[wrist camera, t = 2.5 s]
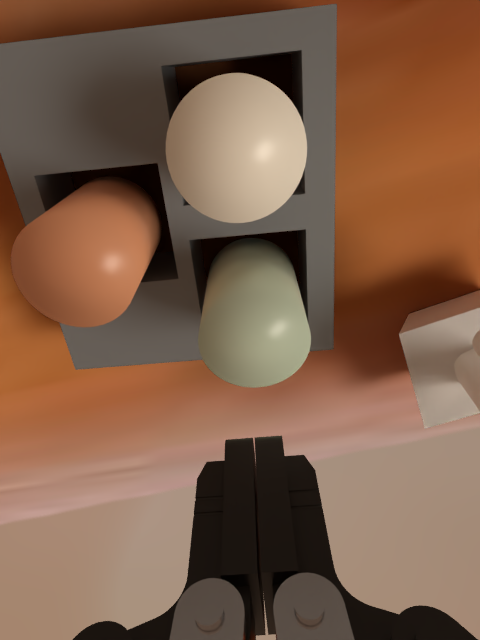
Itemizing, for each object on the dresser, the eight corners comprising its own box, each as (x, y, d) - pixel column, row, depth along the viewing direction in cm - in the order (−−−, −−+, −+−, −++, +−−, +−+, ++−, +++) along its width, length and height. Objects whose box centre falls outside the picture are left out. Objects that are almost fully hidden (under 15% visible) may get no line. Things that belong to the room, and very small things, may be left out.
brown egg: (152, 171, 20) (119, 207, 14) (169, 262, 22) (146, 322, 17) (57, 181, 20) (-9, 220, 15) (83, 270, 22) (34, 331, 17)
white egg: (286, 66, 18) (305, 64, 12) (290, 178, 20) (308, 216, 15) (179, 78, 18) (152, 81, 13) (194, 188, 20) (178, 228, 15)
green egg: (293, 233, 21) (309, 286, 16) (296, 313, 23) (312, 383, 18) (202, 242, 21) (190, 297, 16) (214, 320, 23) (206, 391, 18)
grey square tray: (319, 16, 19) (336, 3, 16) (321, 313, 27) (333, 349, 23) (12, 52, 20) (-36, 48, 17) (96, 331, 27) (75, 369, 24)
